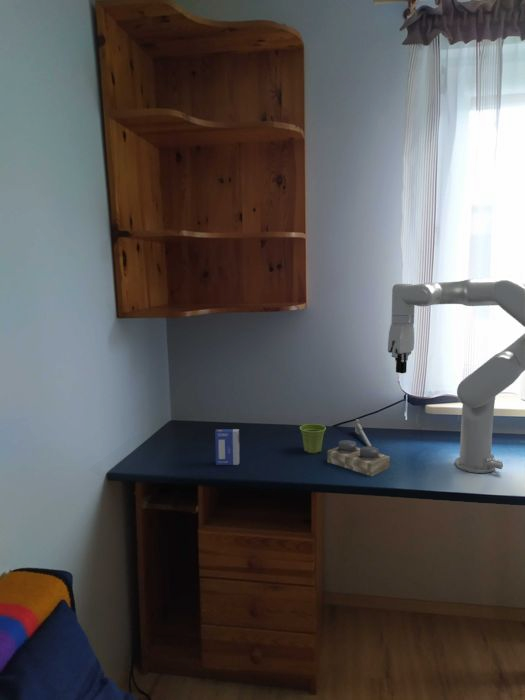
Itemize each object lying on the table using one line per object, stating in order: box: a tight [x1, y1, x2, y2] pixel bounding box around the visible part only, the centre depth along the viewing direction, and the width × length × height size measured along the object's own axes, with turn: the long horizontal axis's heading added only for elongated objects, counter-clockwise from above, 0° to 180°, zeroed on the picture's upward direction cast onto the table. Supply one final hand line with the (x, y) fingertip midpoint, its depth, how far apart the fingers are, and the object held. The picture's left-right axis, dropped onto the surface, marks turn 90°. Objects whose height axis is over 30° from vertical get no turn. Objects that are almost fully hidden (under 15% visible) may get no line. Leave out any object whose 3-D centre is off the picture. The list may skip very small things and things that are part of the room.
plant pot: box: [299, 423, 327, 454], centre depth 192 cm, size 9×9×9 cm
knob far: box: [337, 439, 357, 454], centre depth 181 cm, size 6×6×6 cm
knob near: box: [359, 445, 380, 461], centre depth 175 cm, size 6×6×6 cm
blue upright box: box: [214, 428, 240, 466], centre depth 180 cm, size 8×3×12 cm, turn 90°
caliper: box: [354, 418, 373, 447], centre depth 203 cm, size 20×1×6 cm, turn 6°
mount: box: [326, 446, 391, 477], centre depth 178 cm, size 18×10×4 cm, turn 44°
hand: (401, 372), depth 186 cm, fingers closed
